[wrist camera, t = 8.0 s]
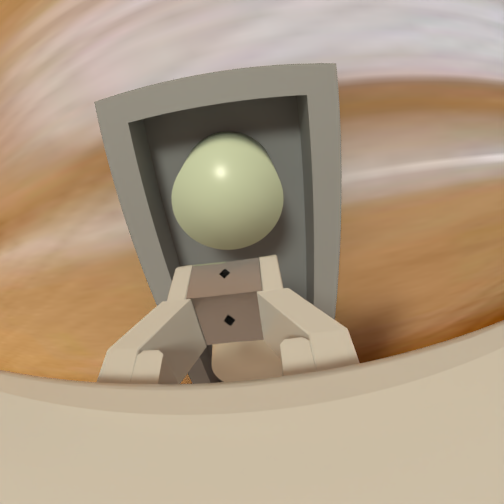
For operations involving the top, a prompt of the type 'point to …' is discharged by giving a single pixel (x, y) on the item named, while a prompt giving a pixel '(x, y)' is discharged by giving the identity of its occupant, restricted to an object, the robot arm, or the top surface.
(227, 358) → the cream round piece
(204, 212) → the sage button
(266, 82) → the grey rectangular tray
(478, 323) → the top surface
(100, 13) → the top surface
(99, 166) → the top surface
